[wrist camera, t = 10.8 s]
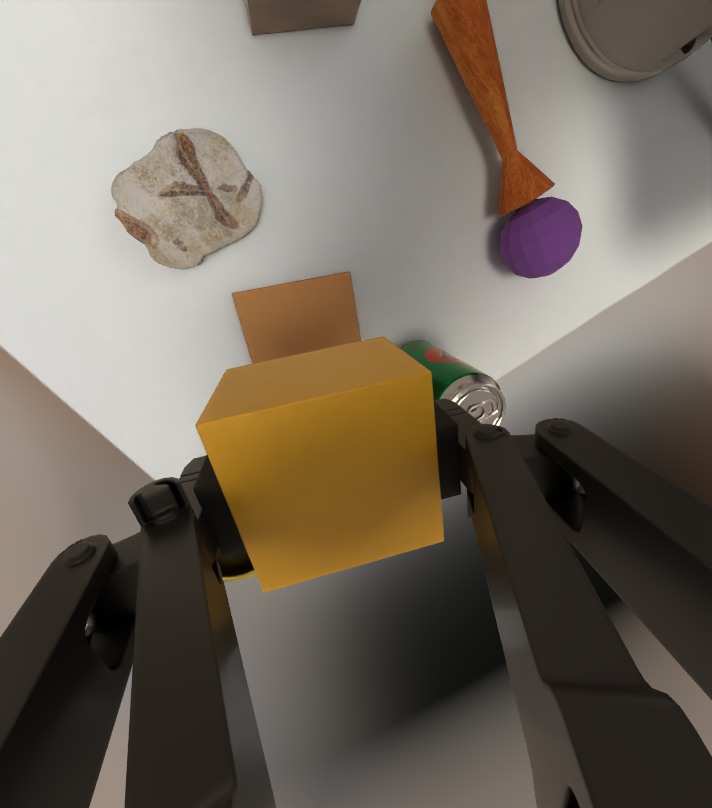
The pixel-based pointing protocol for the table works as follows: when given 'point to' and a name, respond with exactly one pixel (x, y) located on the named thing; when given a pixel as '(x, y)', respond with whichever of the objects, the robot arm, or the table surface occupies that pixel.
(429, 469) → the top cube
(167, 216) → the stone
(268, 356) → the cork mat
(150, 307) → the table surface
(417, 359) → the soda can
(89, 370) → the table surface
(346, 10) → the base slab
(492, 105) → the kendama
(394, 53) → the table surface
